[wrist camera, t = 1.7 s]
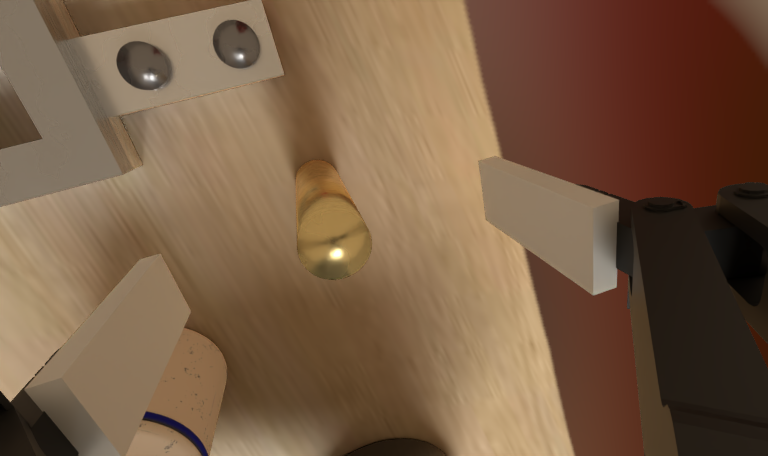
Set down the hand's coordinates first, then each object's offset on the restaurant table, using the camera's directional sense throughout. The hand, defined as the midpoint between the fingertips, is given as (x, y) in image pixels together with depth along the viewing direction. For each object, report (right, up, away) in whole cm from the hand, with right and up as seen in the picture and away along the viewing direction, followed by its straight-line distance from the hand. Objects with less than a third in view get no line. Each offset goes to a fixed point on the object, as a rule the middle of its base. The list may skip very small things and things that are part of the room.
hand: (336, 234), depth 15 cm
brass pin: (-3, +4, +11) cm, 12 cm away
